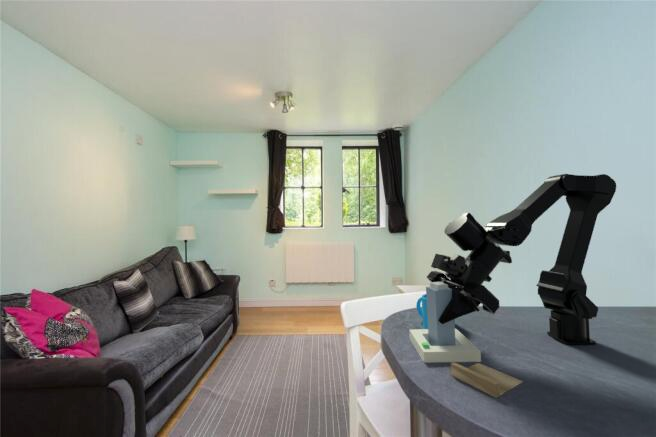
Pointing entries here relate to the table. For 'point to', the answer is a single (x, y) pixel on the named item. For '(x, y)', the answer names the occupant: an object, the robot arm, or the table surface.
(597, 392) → the table surface
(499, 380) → the tan base plate
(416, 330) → the block
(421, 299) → the mug
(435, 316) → the plug
